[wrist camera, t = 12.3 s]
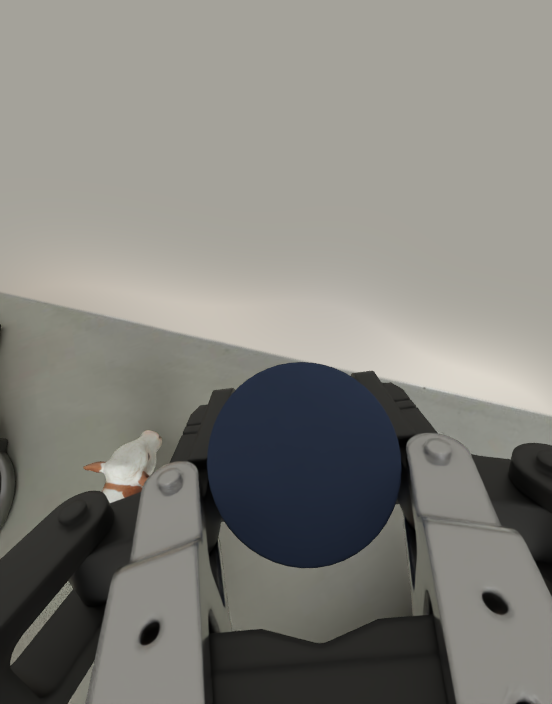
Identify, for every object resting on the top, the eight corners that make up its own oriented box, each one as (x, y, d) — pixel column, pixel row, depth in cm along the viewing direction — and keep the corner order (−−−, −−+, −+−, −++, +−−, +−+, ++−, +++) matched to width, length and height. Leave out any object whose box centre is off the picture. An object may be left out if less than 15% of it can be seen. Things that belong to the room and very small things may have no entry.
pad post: (257, 425, 16) (205, 373, 7) (337, 416, 15) (376, 351, 7) (264, 515, 14) (207, 578, 6) (353, 505, 14) (428, 557, 6)
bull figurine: (198, 435, 23) (147, 419, 16) (226, 653, 18) (169, 782, 11) (145, 449, 23) (68, 439, 16) (158, 670, 18) (53, 811, 11)
